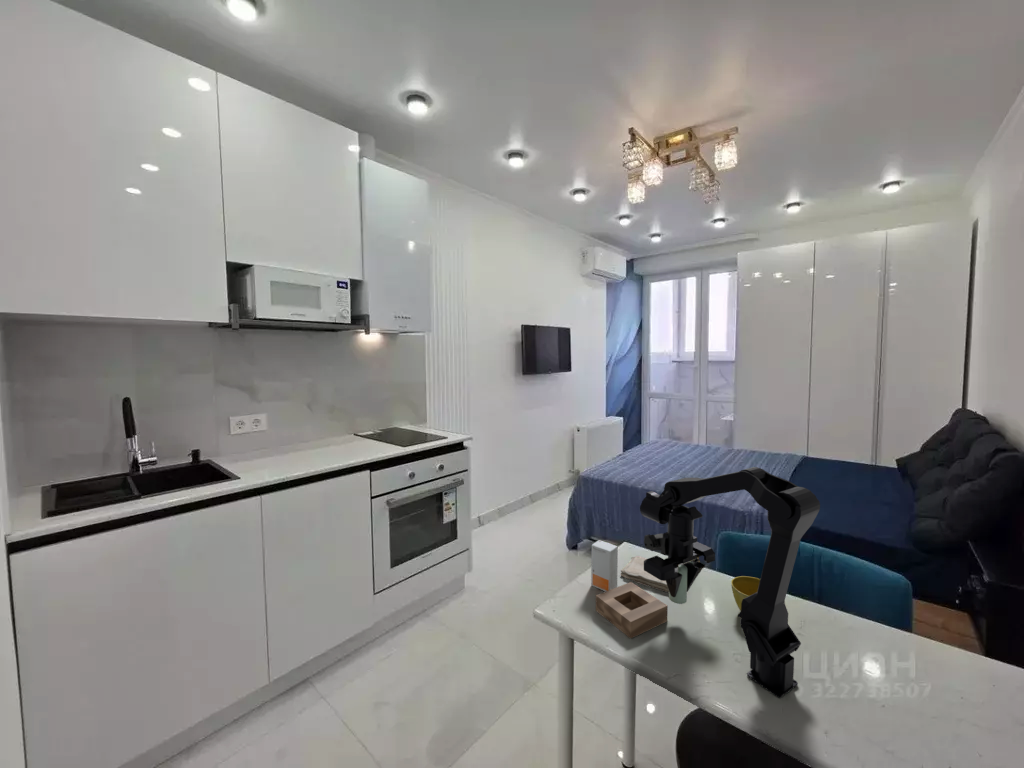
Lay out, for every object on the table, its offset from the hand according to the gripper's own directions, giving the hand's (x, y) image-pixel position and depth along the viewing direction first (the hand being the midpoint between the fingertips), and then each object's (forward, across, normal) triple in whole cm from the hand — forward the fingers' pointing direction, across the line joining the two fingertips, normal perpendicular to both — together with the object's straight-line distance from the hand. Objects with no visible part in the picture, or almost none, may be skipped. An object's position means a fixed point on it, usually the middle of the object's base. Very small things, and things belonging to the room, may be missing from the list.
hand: (679, 593), depth 103 cm
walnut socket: (+6, +9, -7) cm, 13 cm away
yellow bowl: (+7, -17, +8) cm, 20 cm away
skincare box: (+7, +6, -20) cm, 22 cm away
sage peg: (+2, 0, 0) cm, 2 cm away
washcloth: (+7, -10, -16) cm, 20 cm away
